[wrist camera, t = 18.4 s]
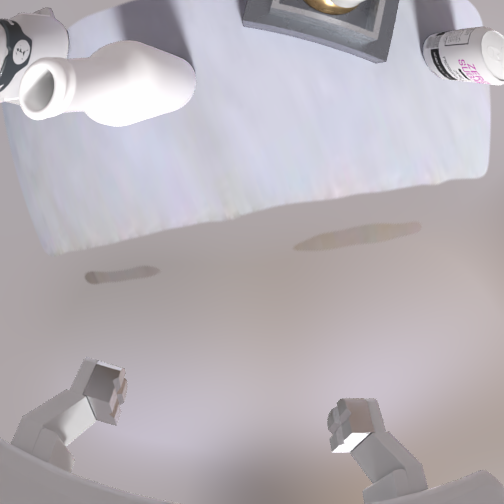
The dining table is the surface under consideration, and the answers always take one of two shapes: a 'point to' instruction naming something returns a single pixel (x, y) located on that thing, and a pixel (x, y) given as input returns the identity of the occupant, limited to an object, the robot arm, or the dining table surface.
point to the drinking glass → (346, 3)
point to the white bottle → (108, 84)
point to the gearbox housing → (329, 23)
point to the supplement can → (466, 55)
